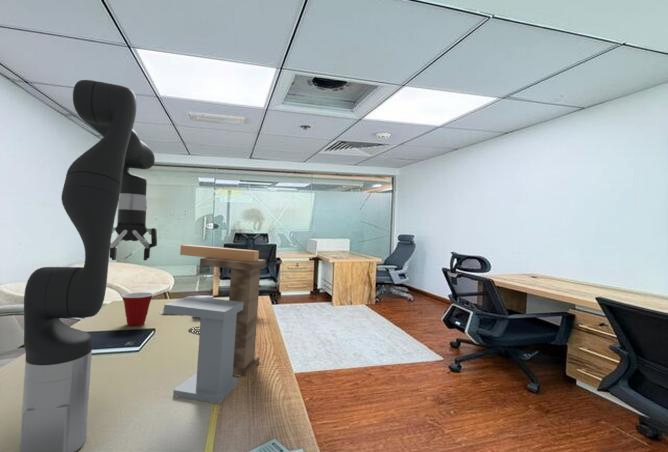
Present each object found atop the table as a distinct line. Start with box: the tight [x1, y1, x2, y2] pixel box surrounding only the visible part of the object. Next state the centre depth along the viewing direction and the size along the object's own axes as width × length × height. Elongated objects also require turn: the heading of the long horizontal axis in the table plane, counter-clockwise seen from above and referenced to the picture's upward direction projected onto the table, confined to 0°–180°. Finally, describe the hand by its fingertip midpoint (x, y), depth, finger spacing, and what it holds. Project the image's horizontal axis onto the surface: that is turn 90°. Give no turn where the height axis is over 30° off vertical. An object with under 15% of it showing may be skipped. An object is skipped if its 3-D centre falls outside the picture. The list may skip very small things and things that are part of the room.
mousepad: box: [188, 327, 200, 335], centre depth 122 cm, size 9×8×1 cm
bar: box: [179, 244, 260, 262], centre depth 96 cm, size 24×3×3 cm, turn 80°
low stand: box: [163, 295, 244, 405], centre depth 81 cm, size 16×10×22 cm, turn 80°
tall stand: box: [199, 257, 267, 377], centre depth 95 cm, size 16×10×32 cm, turn 80°
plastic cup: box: [121, 292, 154, 327], centre depth 125 cm, size 11×11×12 cm
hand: (130, 260), depth 100 cm, fingers open, 8 cm apart
